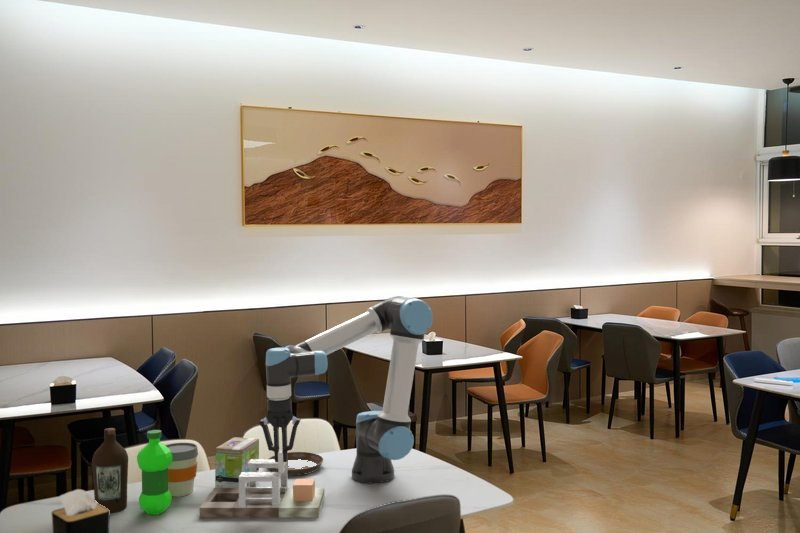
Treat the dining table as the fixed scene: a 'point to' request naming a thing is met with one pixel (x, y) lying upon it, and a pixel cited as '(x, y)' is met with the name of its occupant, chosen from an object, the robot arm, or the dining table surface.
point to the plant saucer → (302, 456)
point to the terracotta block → (303, 490)
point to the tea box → (234, 461)
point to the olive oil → (110, 473)
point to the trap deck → (258, 505)
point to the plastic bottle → (154, 474)
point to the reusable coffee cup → (182, 468)
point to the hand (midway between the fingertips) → (281, 471)
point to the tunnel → (262, 477)
